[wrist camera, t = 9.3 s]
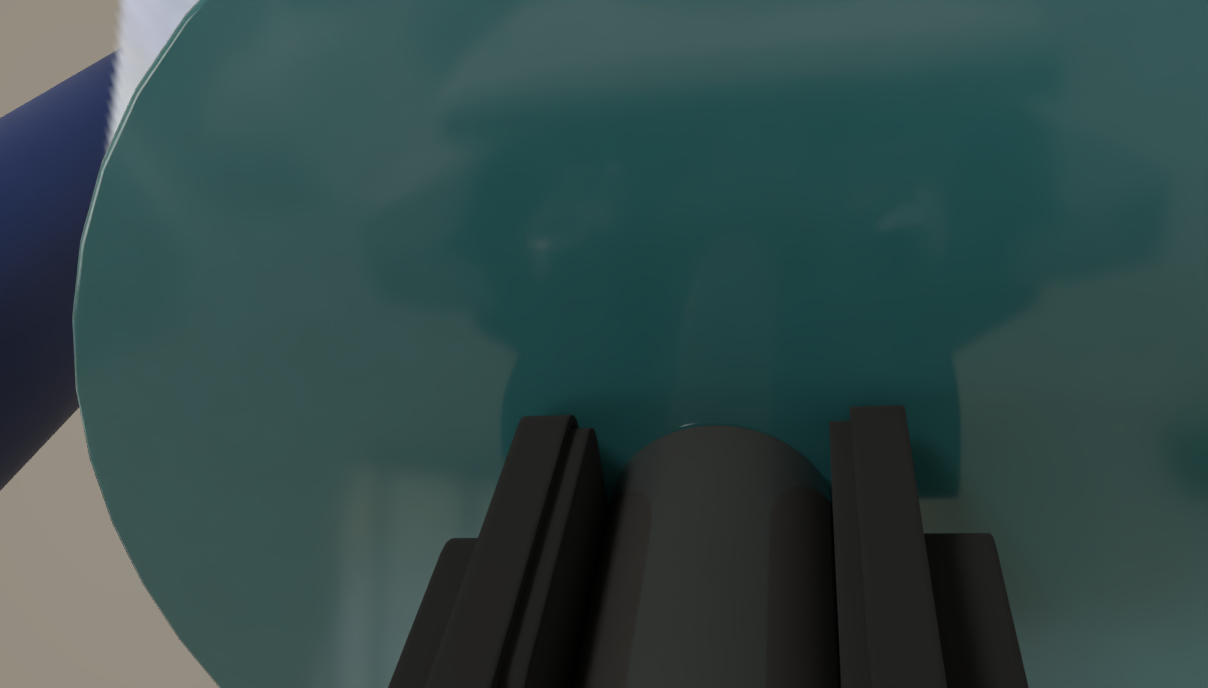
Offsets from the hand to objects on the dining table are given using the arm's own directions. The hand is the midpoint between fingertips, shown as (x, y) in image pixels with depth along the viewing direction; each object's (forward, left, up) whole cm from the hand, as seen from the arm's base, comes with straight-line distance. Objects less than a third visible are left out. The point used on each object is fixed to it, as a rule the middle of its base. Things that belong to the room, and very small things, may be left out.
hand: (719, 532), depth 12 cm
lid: (0, 0, -1) cm, 1 cm away
